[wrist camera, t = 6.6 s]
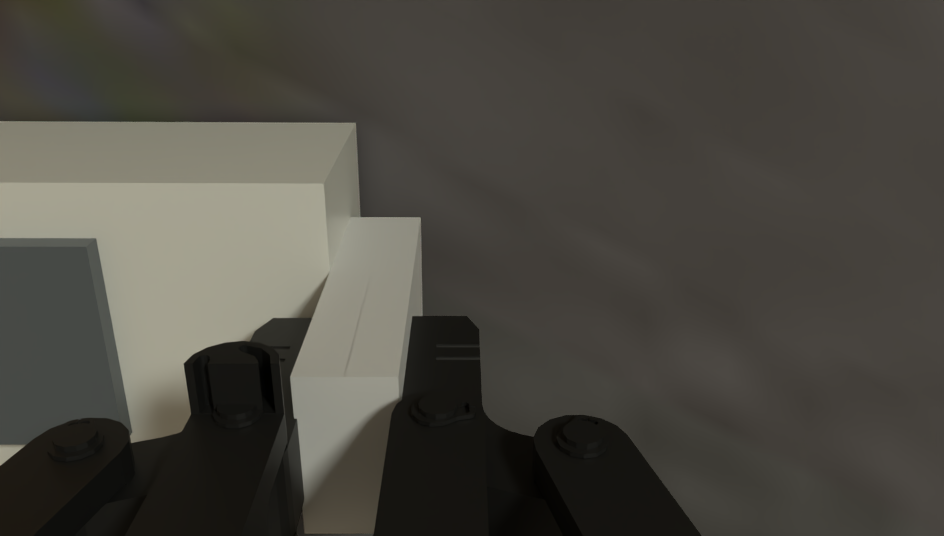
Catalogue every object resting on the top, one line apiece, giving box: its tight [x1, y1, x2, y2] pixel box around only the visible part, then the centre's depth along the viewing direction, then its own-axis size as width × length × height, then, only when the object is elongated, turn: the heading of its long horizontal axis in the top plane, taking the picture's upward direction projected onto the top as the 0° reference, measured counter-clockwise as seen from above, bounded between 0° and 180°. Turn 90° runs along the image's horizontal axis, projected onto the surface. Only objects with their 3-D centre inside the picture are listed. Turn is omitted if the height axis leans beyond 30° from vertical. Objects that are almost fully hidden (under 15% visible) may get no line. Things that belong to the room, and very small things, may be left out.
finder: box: [0, 121, 360, 466], centre depth 17 cm, size 8×6×5 cm
